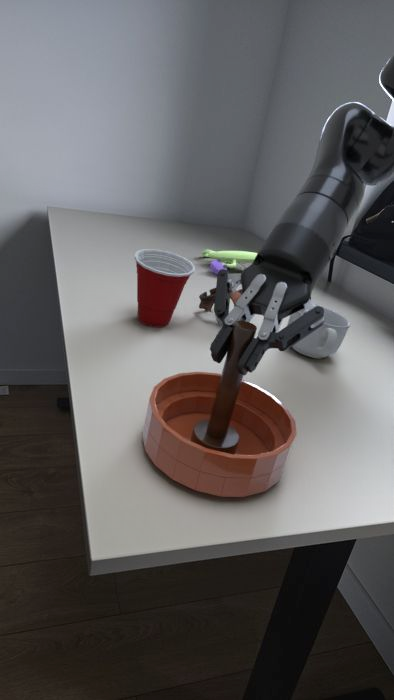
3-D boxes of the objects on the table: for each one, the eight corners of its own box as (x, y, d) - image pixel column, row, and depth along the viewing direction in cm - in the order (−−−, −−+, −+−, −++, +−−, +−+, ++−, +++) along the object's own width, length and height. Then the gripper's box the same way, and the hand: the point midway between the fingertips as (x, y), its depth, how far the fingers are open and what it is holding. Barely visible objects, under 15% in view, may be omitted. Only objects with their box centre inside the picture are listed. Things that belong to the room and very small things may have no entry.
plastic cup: (140, 336, 84) (152, 269, 79) (115, 310, 92) (124, 247, 87) (193, 332, 90) (207, 270, 85) (165, 308, 98) (177, 250, 93)
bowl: (232, 403, 71) (242, 367, 68) (310, 484, 58) (326, 443, 55) (120, 419, 62) (127, 378, 59) (184, 518, 49) (196, 471, 46)
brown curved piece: (231, 337, 93) (218, 296, 90) (197, 338, 100) (184, 299, 97) (269, 313, 100) (258, 274, 98) (235, 315, 107) (224, 279, 105)
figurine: (296, 296, 123) (302, 275, 121) (192, 270, 124) (197, 249, 122) (294, 276, 140) (300, 257, 137) (203, 254, 141) (207, 234, 139)
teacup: (280, 333, 99) (292, 296, 95) (333, 346, 98) (347, 309, 95) (282, 363, 86) (295, 322, 83) (342, 378, 86) (358, 337, 82)
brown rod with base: (220, 428, 63) (251, 313, 56) (244, 455, 59) (282, 335, 52) (182, 434, 60) (210, 314, 53) (205, 463, 56) (239, 338, 49)
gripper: (245, 204, 57) (165, 324, 52) (362, 241, 51) (284, 379, 47) (253, 245, 63) (183, 354, 59) (357, 281, 58) (288, 405, 53)
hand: (228, 364), depth 53 cm, fingers closed
